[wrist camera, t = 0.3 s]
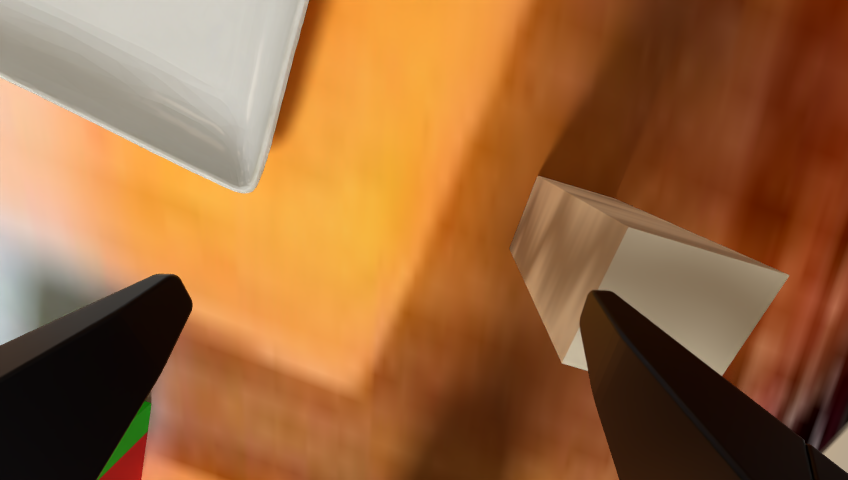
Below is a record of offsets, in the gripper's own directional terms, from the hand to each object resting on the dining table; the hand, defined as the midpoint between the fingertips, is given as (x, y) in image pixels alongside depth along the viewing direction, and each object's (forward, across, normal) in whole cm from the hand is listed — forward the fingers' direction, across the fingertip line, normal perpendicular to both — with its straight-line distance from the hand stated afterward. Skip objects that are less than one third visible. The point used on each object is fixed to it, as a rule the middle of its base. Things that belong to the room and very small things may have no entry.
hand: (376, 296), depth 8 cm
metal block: (+14, -8, +7) cm, 18 cm away
